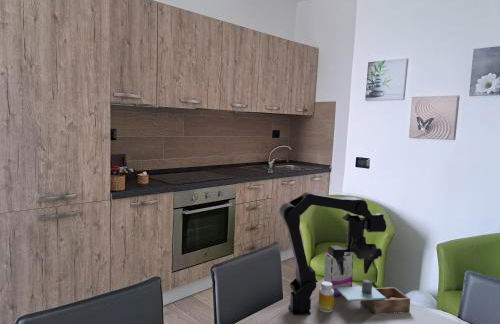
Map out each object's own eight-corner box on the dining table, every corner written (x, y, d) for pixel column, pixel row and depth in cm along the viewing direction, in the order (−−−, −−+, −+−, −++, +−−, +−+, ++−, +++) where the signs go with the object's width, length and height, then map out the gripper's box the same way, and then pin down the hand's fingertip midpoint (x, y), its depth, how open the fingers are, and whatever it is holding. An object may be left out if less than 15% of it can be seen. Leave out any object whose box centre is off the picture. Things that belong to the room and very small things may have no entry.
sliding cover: (347, 301, 124) (348, 288, 123) (336, 289, 133) (337, 277, 133) (385, 299, 126) (386, 286, 126) (371, 287, 136) (372, 275, 135)
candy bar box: (343, 288, 147) (345, 249, 146) (352, 292, 143) (354, 253, 141) (322, 292, 142) (324, 253, 141) (330, 297, 138) (332, 257, 136)
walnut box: (373, 314, 126) (374, 300, 125) (360, 301, 135) (361, 288, 135) (409, 312, 128) (410, 298, 127) (394, 299, 138) (394, 287, 137)
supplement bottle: (333, 313, 125) (334, 287, 125) (318, 311, 126) (319, 285, 126) (333, 306, 131) (334, 281, 130) (318, 304, 132) (319, 279, 131)
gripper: (340, 239, 118) (338, 284, 119) (391, 238, 121) (389, 282, 122) (328, 230, 129) (326, 271, 130) (375, 229, 132) (373, 270, 133)
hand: (353, 274), depth 129 cm, fingers open, 9 cm apart
